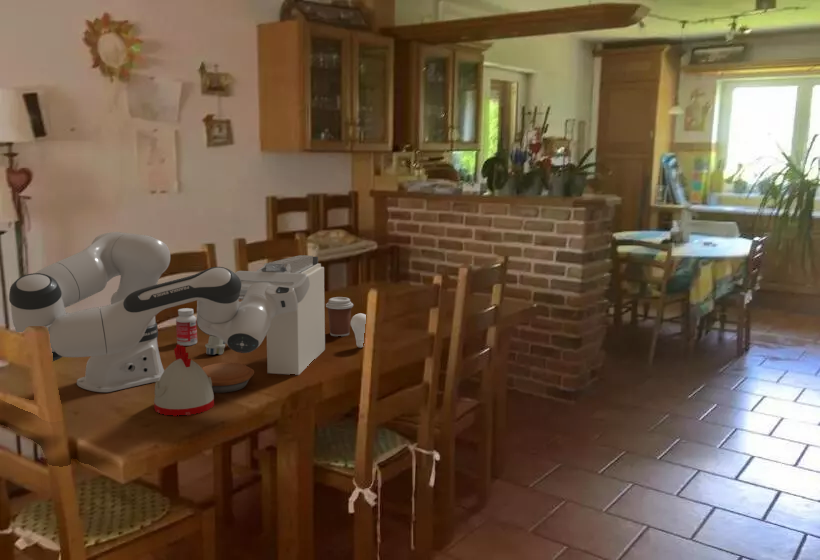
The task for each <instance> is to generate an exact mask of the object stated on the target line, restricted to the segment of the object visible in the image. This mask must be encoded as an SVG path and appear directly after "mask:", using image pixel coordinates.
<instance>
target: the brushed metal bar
mask: <svg viewBox="0 0 820 560" xmlns="http://www.w3.org/2000/svg"><path fill="white" fill-rule="evenodd" d="M313 257H314V255H308V254H307V255H302V254H301V255H296V256H291V257H288V258H283V259H279V260H275V261H270V262H265V263H266V272H282V273H284V270H283V266H284V264H290V266H291V270H290V273H301V272H303V271H305V270H307V269H308V268H310V267H312V266H313Z"/></svg>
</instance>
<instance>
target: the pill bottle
mask: <svg viewBox="0 0 820 560" xmlns="http://www.w3.org/2000/svg"><path fill="white" fill-rule="evenodd" d="M177 314H178V316H177V318H176V319H175V324H176V325H175V328H176V343H177V344H176V345H179V344H180V346H182V345H183V347H186V346H187V347H188V346H194V345H196V344H197V343H198V329H197V326H198V325H197V316H196V315H194V308H189V307H186V308H185V307H184V308H179V309H177Z"/></svg>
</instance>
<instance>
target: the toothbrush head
mask: <svg viewBox="0 0 820 560" xmlns="http://www.w3.org/2000/svg"><path fill="white" fill-rule="evenodd" d="M208 336H209V337H208V343H205V345H204V346H205V348H206V349H205V350H206V354H207V355H212V356H214V355H216V354H218V355H219V356H220V355H223V354H224V353H225V348H226V345H227V344H226V343H225V342H224V341H223V340H222V339H220V338H218V337H214V336H210V335H208Z"/></svg>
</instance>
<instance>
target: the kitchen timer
mask: <svg viewBox="0 0 820 560" xmlns="http://www.w3.org/2000/svg"><path fill="white" fill-rule="evenodd" d="M186 348H187V347H186V346H183V345H180V344H179V345H178V344H176V345H175V348H173V350H174V351H173V352H174V356H175V357H174V358H175V360H174V361H173V362H172V363H170V364H169V365H168V366H166V368H165V369H164V372H163V374H162V376H161V378H160V380H159V381H157V380H156V382H154V384H155V385H154V398H153V399H154V401H153V403H154V404H153V405H154V407H153V409H154V411H155V413H157V412H158V414H159V413H160V415H162V414H164V416H167V415H173V416H172V417H180V416H179V415H187V416H192V415H191V414H194V415H197V414H196V413H198V414H202V413H204V411H205V412H207V411H210V410H211V409H212V408H213V407H214V406H215V395H214V392H213V390H212V382H211V377H209V378H208V376H207V375H206V373H205V372H204V370H203V369H202V368H203V367H201V366H200V365H199V364H198V363H197V362H195V361H194V360H193V359H191V358H189V352H187V350H186ZM210 408H211V409H210ZM201 412H202V413H201ZM177 415H178V416H177Z"/></svg>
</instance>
